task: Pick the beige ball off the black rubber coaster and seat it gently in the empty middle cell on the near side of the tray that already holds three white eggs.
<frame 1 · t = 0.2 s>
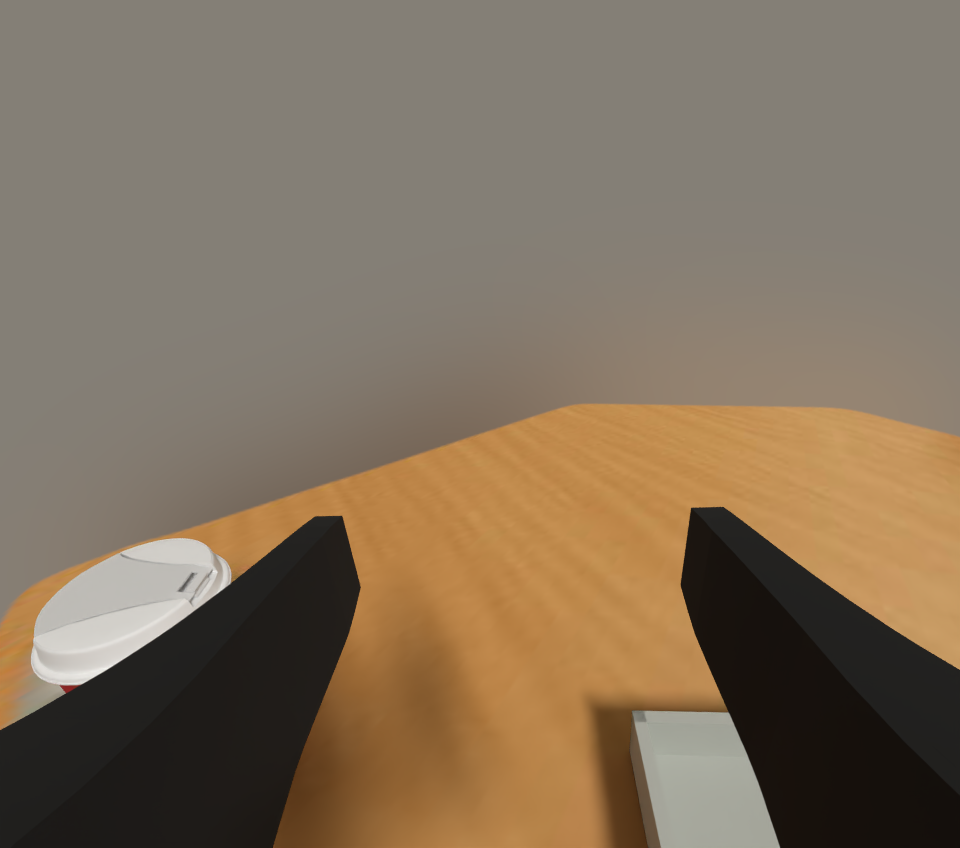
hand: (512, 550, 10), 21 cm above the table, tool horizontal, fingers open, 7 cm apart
paper cup: (227, 776, 27), on the table
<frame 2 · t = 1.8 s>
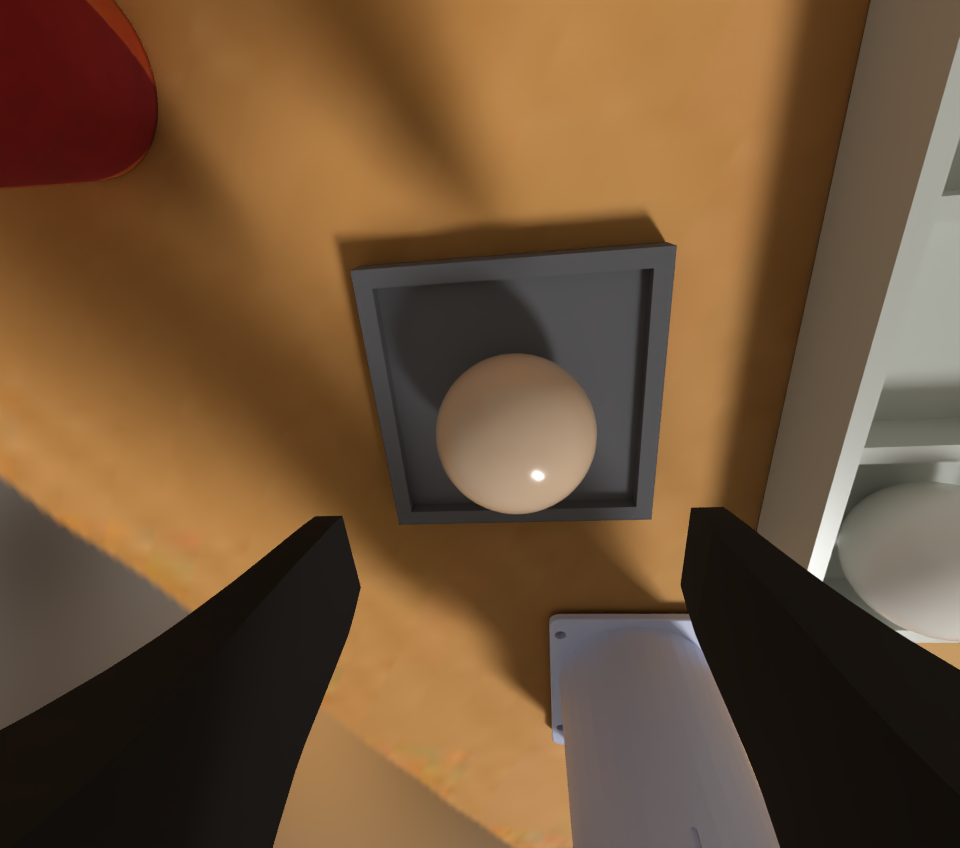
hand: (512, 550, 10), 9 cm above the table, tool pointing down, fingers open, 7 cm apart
white egg C: (880, 511, 18), point 1 cm above the table, touching tray
beige ball: (515, 401, 17), point 1 cm above the table, touching coaster
paper cup: (70, 79, 14), on the table
coaster: (515, 395, 18), on the table
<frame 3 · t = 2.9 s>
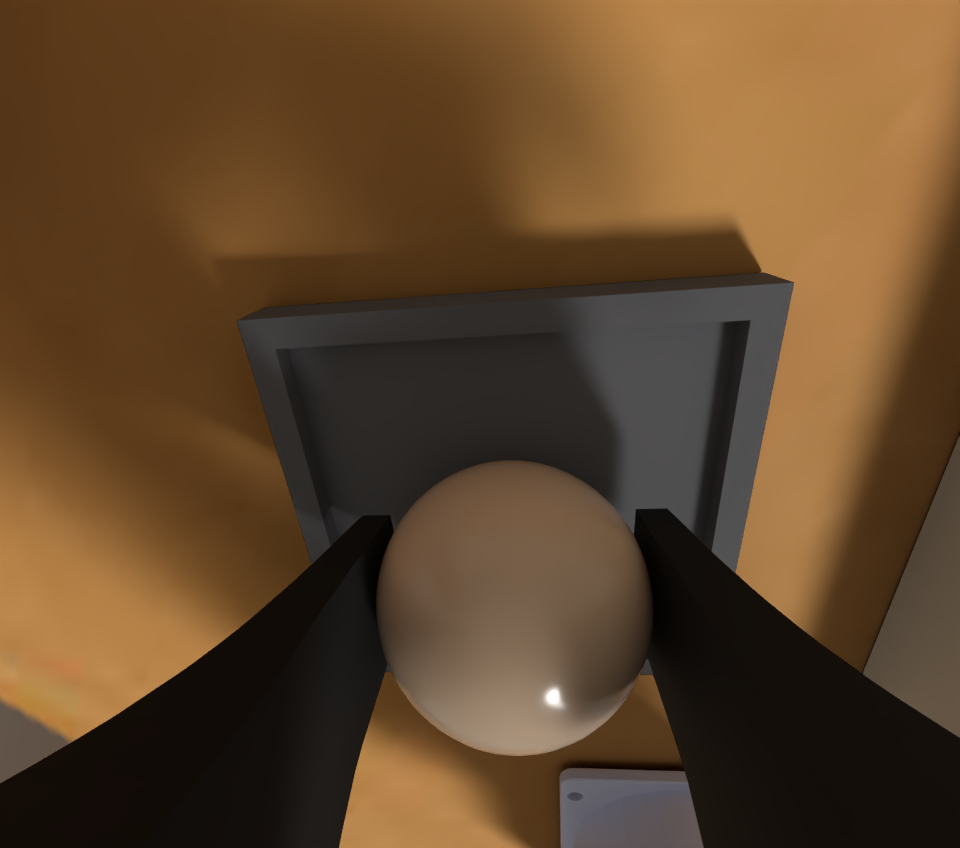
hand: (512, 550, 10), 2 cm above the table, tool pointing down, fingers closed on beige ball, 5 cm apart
beige ball: (513, 512, 11), point 1 cm above the table, touching coaster, gripper
coaster: (513, 497, 12), on the table
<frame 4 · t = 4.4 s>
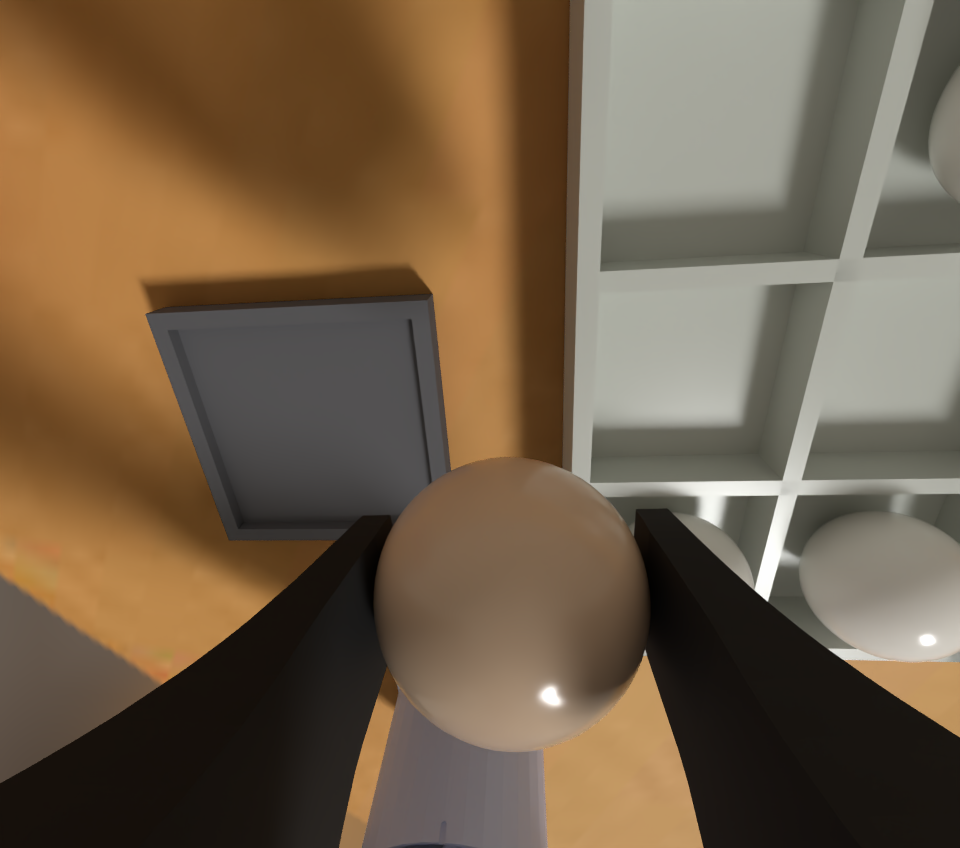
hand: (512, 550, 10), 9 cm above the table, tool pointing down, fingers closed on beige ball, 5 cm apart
white egg C: (657, 536, 20), point 1 cm above the table, touching tray
beige ball: (510, 509, 11), point 8 cm above the table, touching gripper
white egg A: (840, 536, 19), point 1 cm above the table, touching tray
coaster: (324, 425, 19), on the table
tray: (774, 363, 17), on the table
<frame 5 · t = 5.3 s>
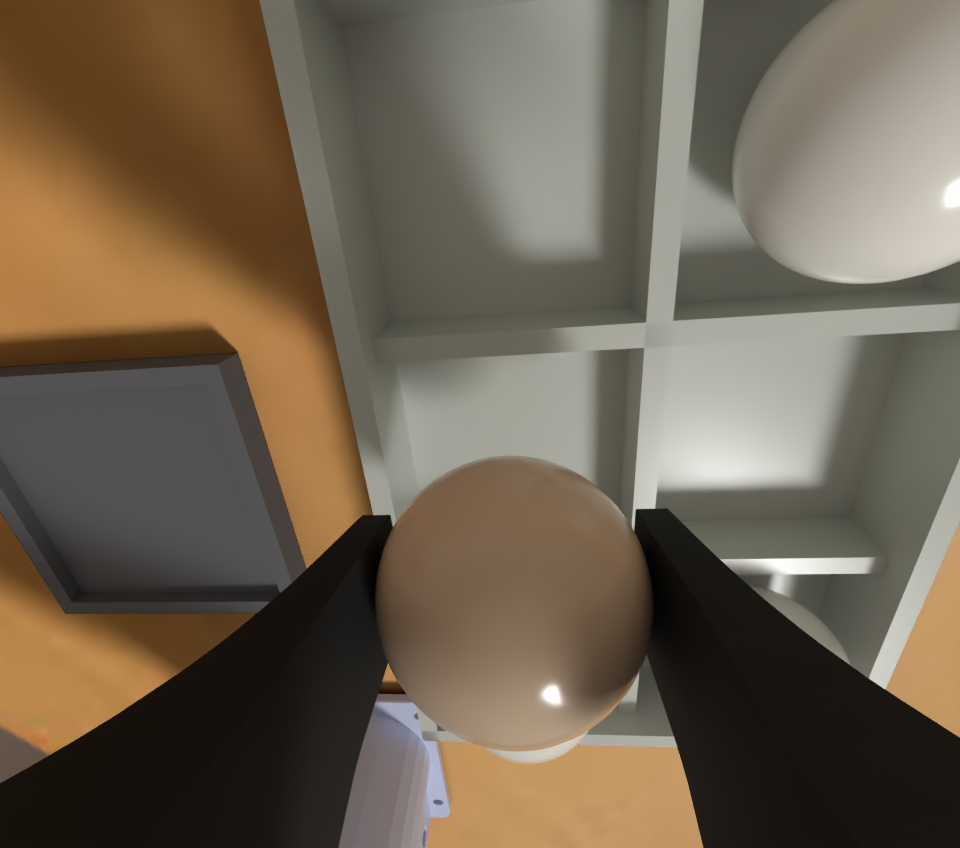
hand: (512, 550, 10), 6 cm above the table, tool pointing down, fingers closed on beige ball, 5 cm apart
white egg C: (523, 607, 18), point 1 cm above the table, touching tray
beige ball: (512, 508, 11), point 5 cm above the table, touching gripper
white egg A: (723, 607, 17), point 1 cm above the table, touching tray
coaster: (151, 491, 17), on the table
tray: (627, 422, 15), on the table
white egg B: (812, 149, 11), point 1 cm above the table, touching tray
when the fingers open (4 cm above the table, at t = 6.1 s): beige ball drops 2 cm, resting on tray.
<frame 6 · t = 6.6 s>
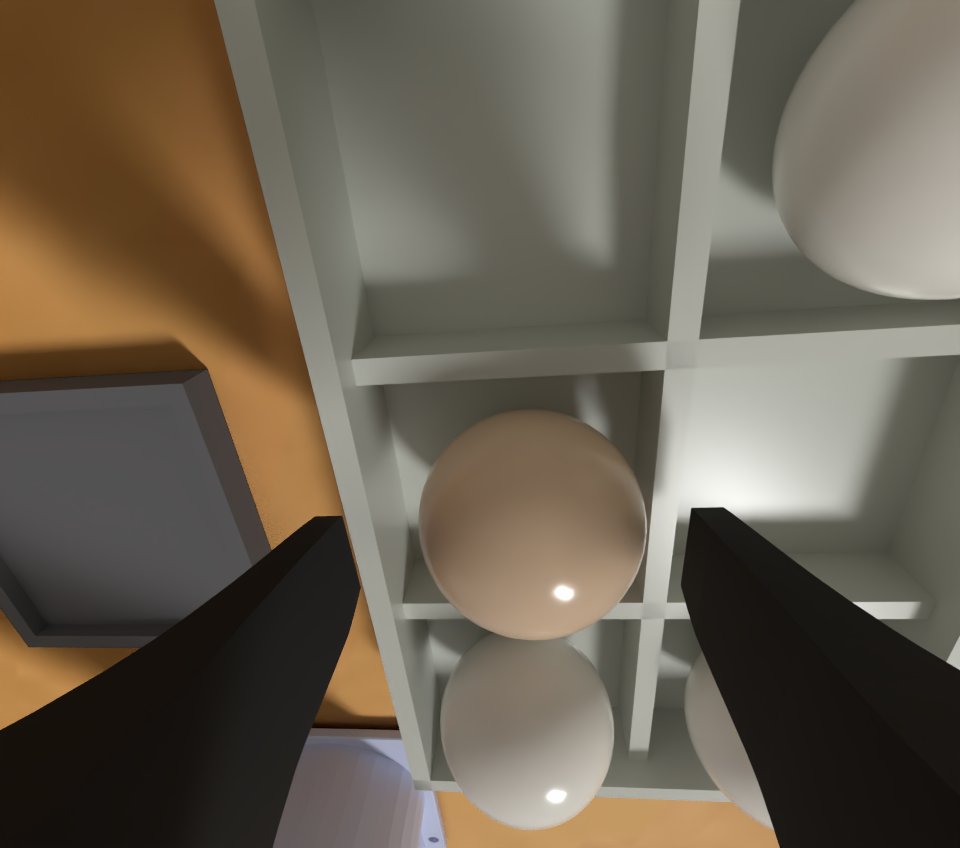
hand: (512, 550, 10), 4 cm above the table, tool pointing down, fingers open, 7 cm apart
white egg C: (524, 644, 16), point 1 cm above the table, touching tray
beige ball: (511, 463, 13), point 1 cm above the table, tilted 10°, touching tray
white egg A: (743, 645, 15), point 1 cm above the table, touching tray
coaster: (118, 517, 16), on the table
tray: (640, 446, 13), on the table
white egg B: (861, 140, 9), point 1 cm above the table, touching tray
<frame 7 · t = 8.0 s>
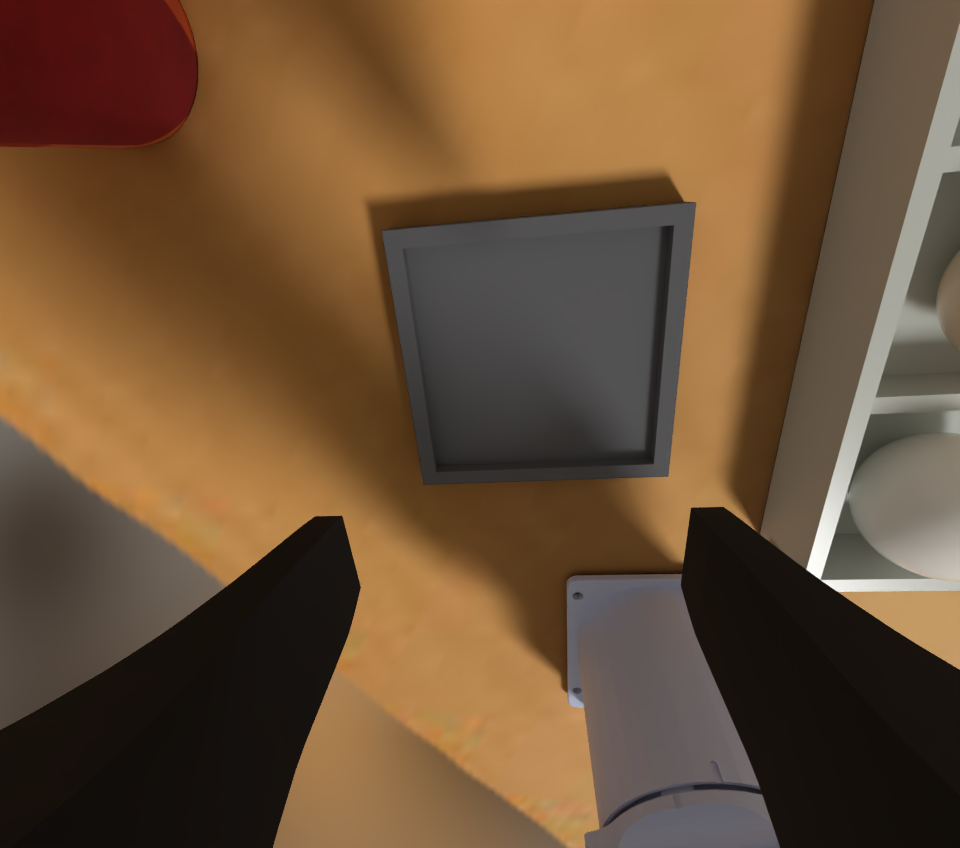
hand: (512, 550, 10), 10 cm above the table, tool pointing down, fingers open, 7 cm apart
white egg C: (890, 467, 18), point 1 cm above the table, touching tray
beige ball: (956, 277, 15), point 1 cm above the table, tilted 20°, touching tray
paper cup: (114, 47, 15), on the table
coaster: (537, 356, 18), on the table
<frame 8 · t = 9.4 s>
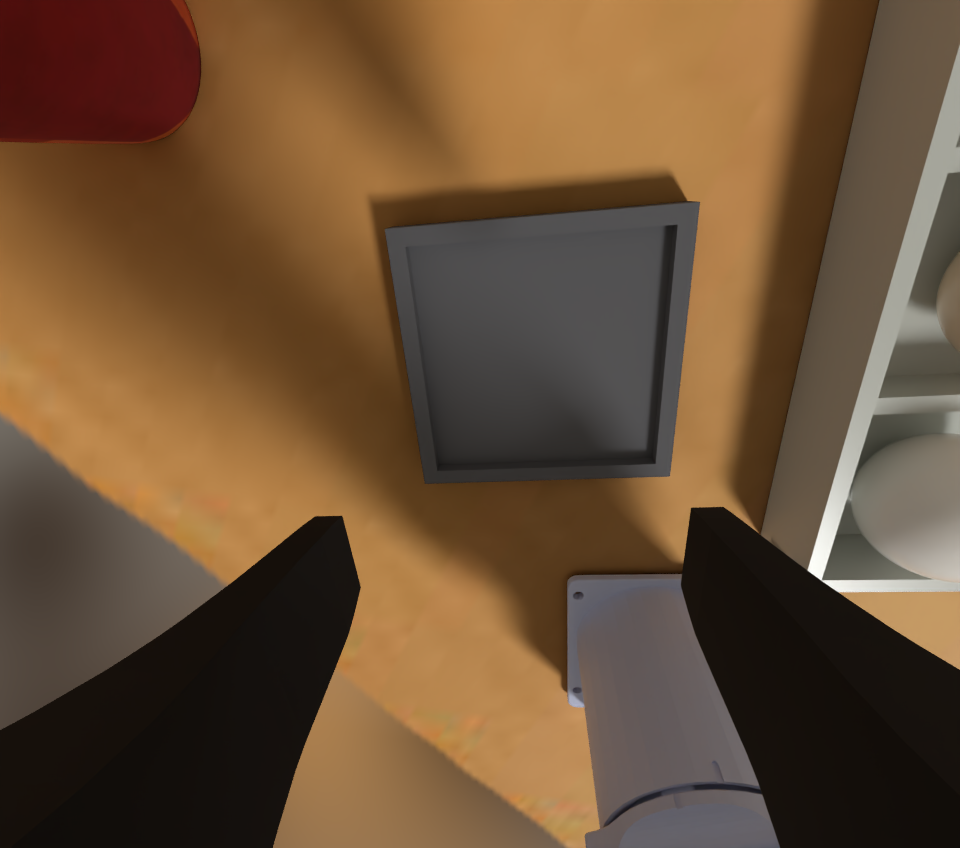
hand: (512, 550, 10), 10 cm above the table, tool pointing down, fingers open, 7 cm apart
white egg C: (891, 467, 18), point 1 cm above the table, touching tray
beige ball: (959, 277, 15), point 1 cm above the table, tilted 18°, touching tray
paper cup: (117, 43, 15), on the table
coaster: (539, 355, 18), on the table
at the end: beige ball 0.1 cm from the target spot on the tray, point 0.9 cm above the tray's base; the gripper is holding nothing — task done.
